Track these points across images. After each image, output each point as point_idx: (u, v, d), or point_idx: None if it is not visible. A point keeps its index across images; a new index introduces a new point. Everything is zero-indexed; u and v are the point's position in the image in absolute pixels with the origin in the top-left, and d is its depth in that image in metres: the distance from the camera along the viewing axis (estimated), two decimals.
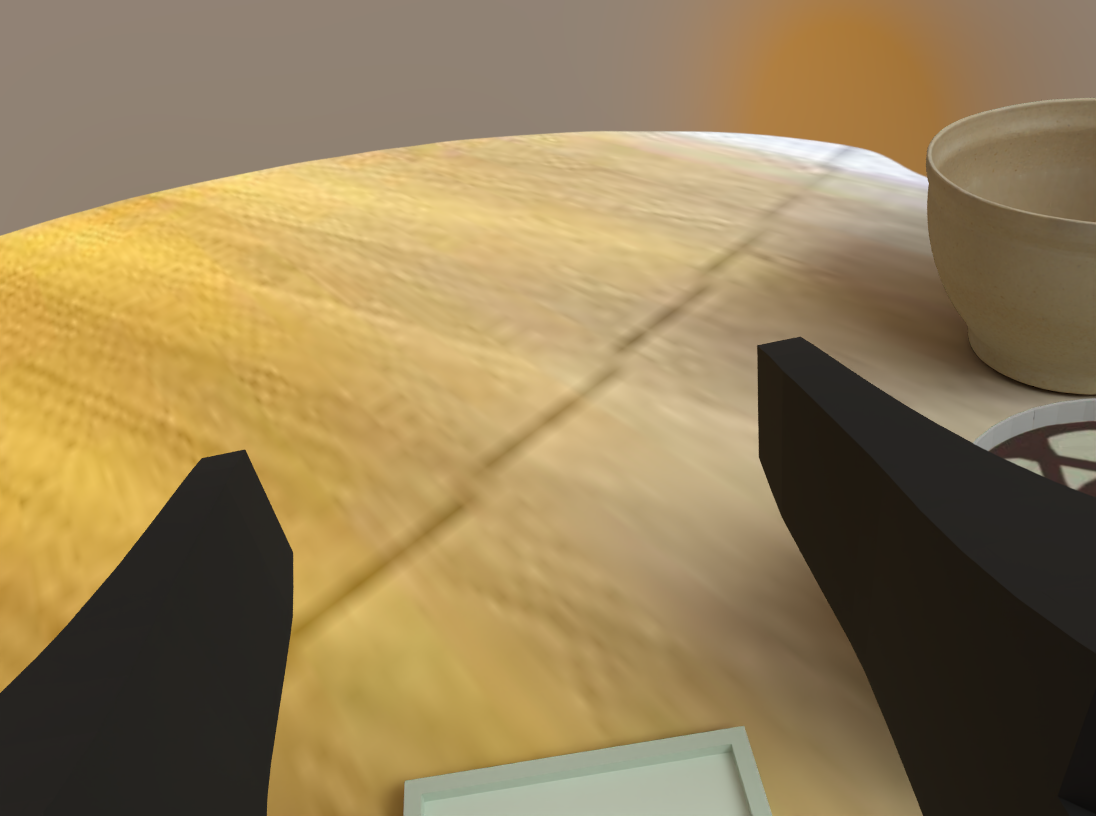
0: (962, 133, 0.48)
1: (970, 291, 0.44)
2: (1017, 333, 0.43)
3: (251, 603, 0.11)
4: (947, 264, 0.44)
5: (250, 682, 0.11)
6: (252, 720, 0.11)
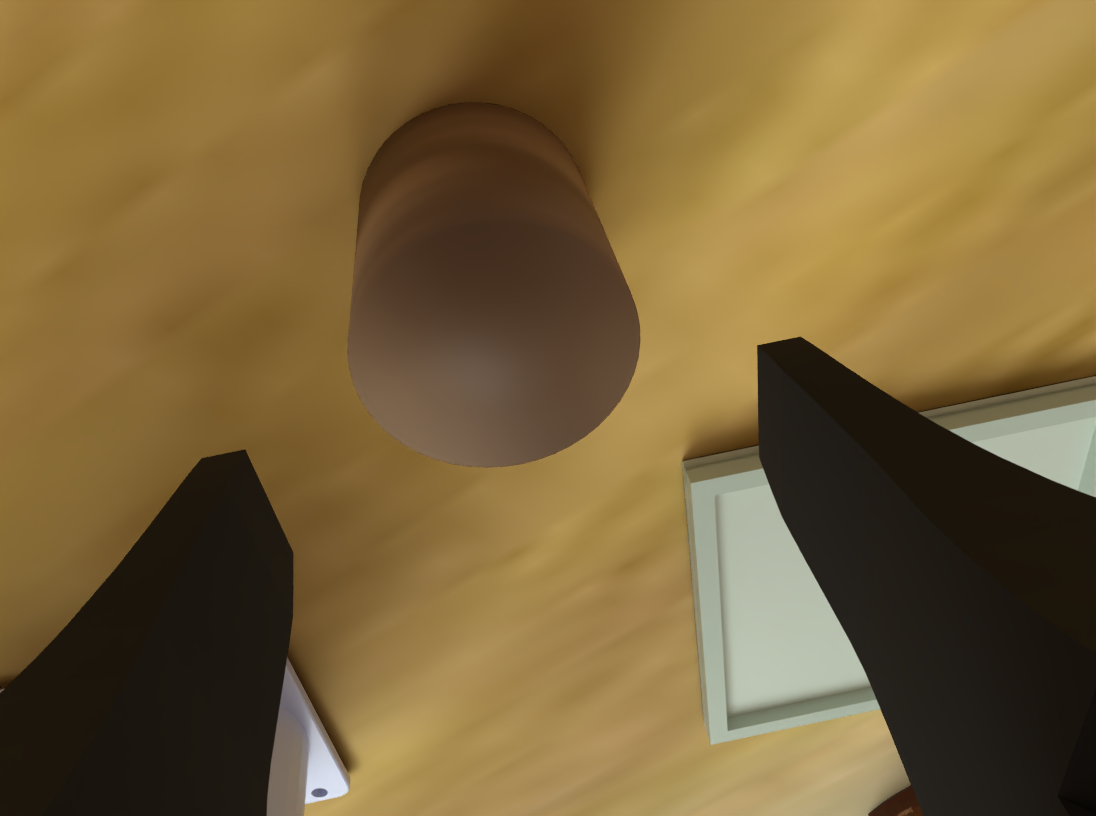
0: None
1: None
2: None
3: (251, 603, 0.11)
4: None
5: (250, 682, 0.11)
6: (252, 720, 0.11)
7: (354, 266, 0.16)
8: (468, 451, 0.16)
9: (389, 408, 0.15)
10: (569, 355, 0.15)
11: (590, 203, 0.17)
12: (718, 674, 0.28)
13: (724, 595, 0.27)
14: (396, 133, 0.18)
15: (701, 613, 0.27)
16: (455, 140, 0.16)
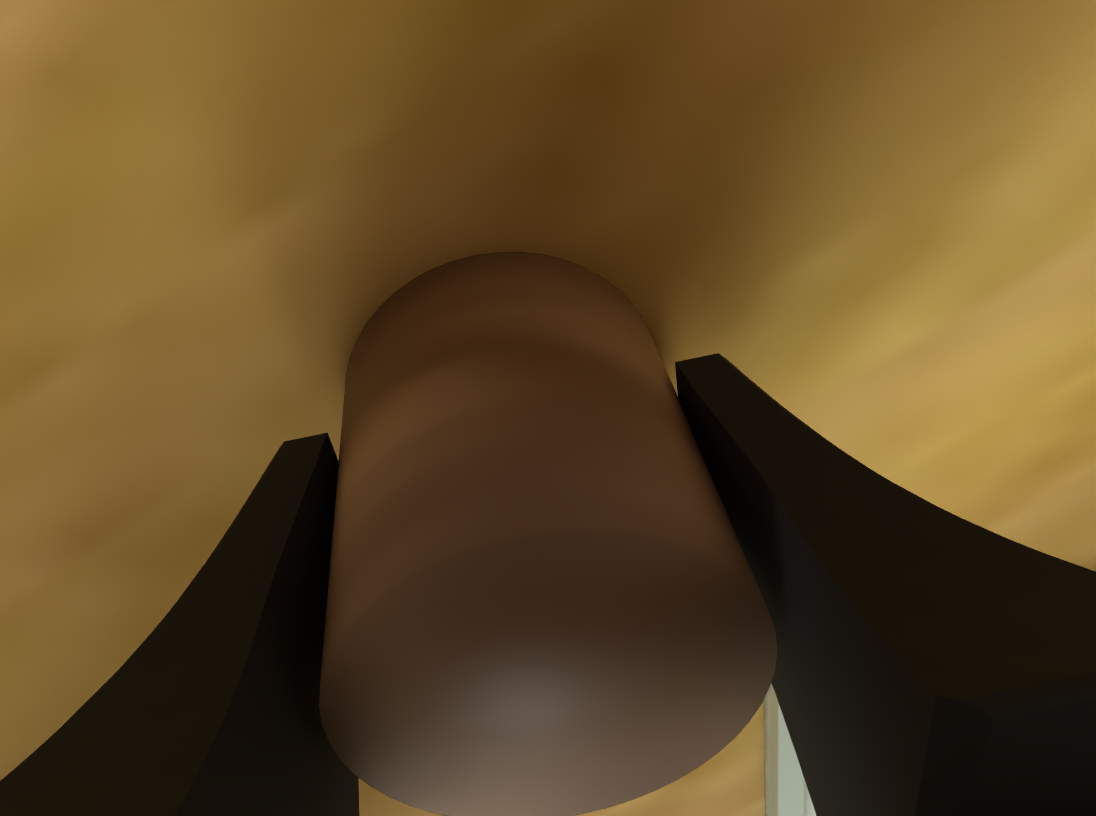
0: None
1: None
2: None
3: None
4: None
5: None
6: None
7: (334, 524, 0.11)
8: (505, 805, 0.11)
9: (386, 767, 0.10)
10: (664, 689, 0.10)
11: (684, 420, 0.11)
12: None
13: (806, 803, 0.22)
14: (397, 297, 0.12)
15: None
16: (485, 332, 0.11)
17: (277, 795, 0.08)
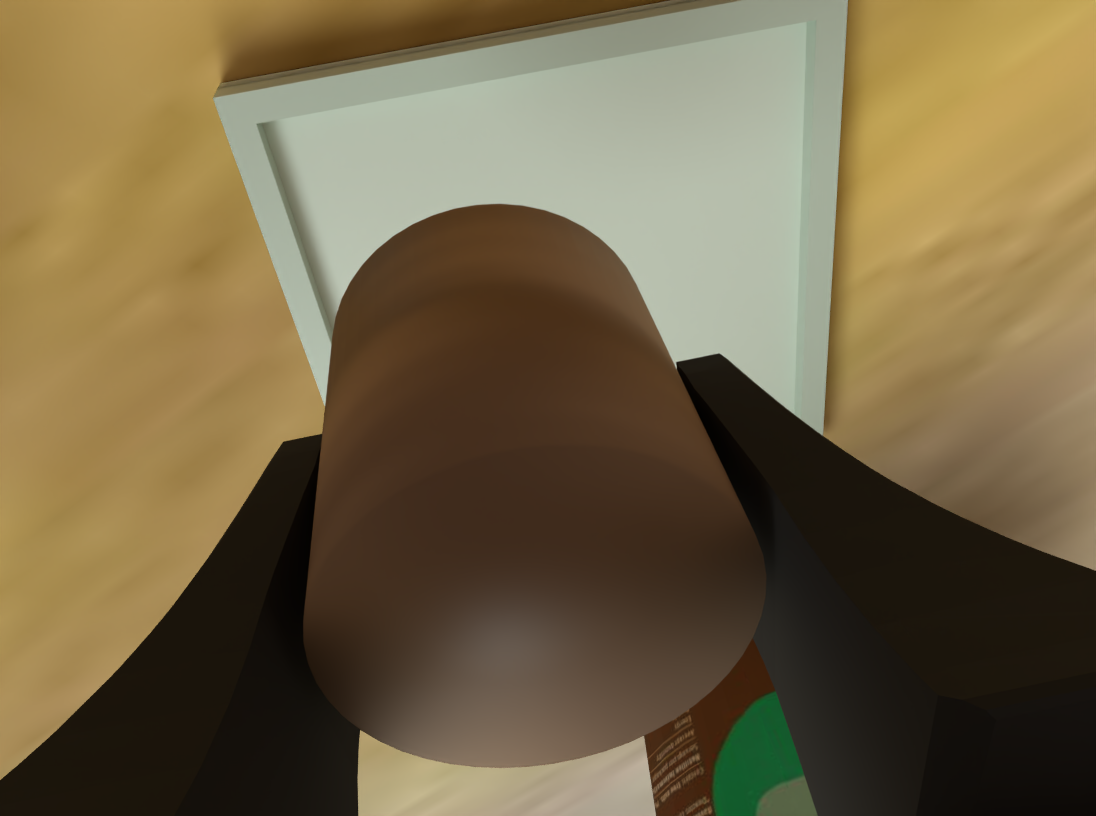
0: None
1: None
2: None
3: None
4: None
5: None
6: None
7: None
8: (521, 749, 0.11)
9: (390, 720, 0.10)
10: (655, 611, 0.09)
11: (654, 342, 0.11)
12: None
13: None
14: (364, 267, 0.13)
15: (300, 334, 0.20)
16: (440, 282, 0.11)
17: (276, 795, 0.08)
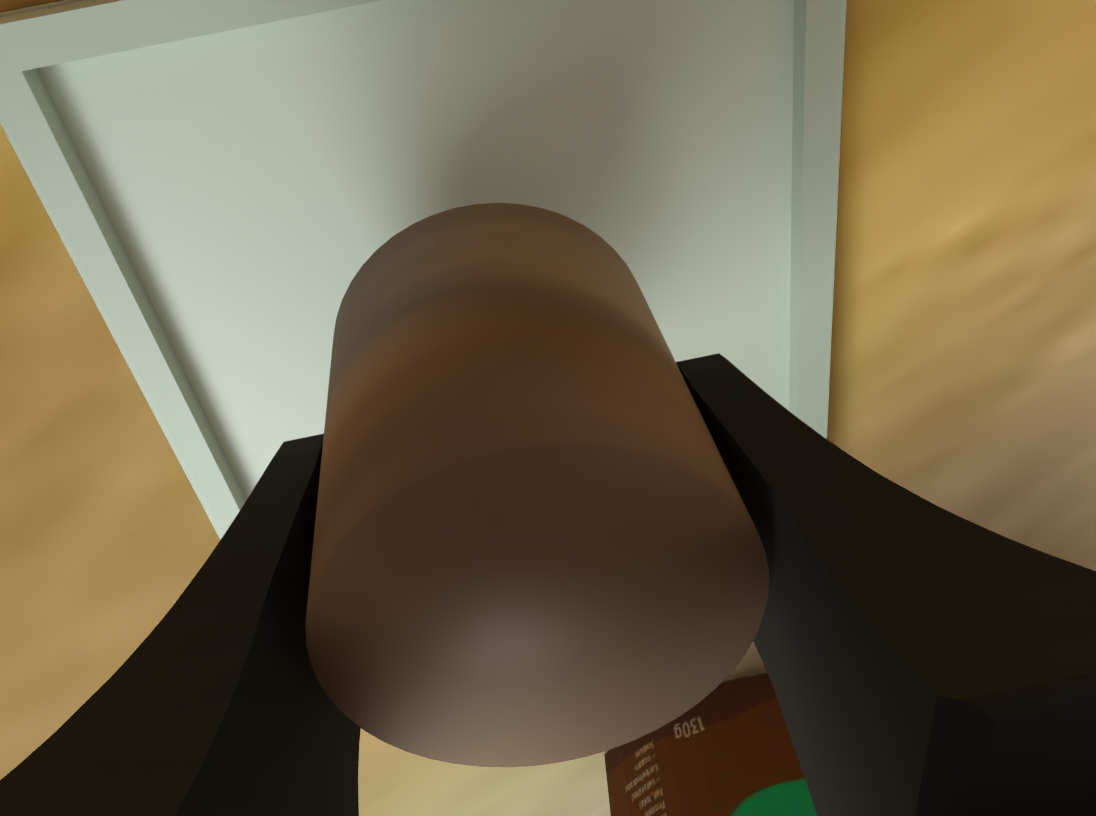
0: None
1: None
2: None
3: None
4: None
5: None
6: None
7: None
8: (526, 748, 0.11)
9: (394, 720, 0.10)
10: (657, 609, 0.09)
11: (655, 340, 0.11)
12: (218, 490, 0.17)
13: (183, 333, 0.15)
14: (364, 267, 0.13)
15: (127, 359, 0.15)
16: (439, 282, 0.11)
17: (276, 795, 0.08)
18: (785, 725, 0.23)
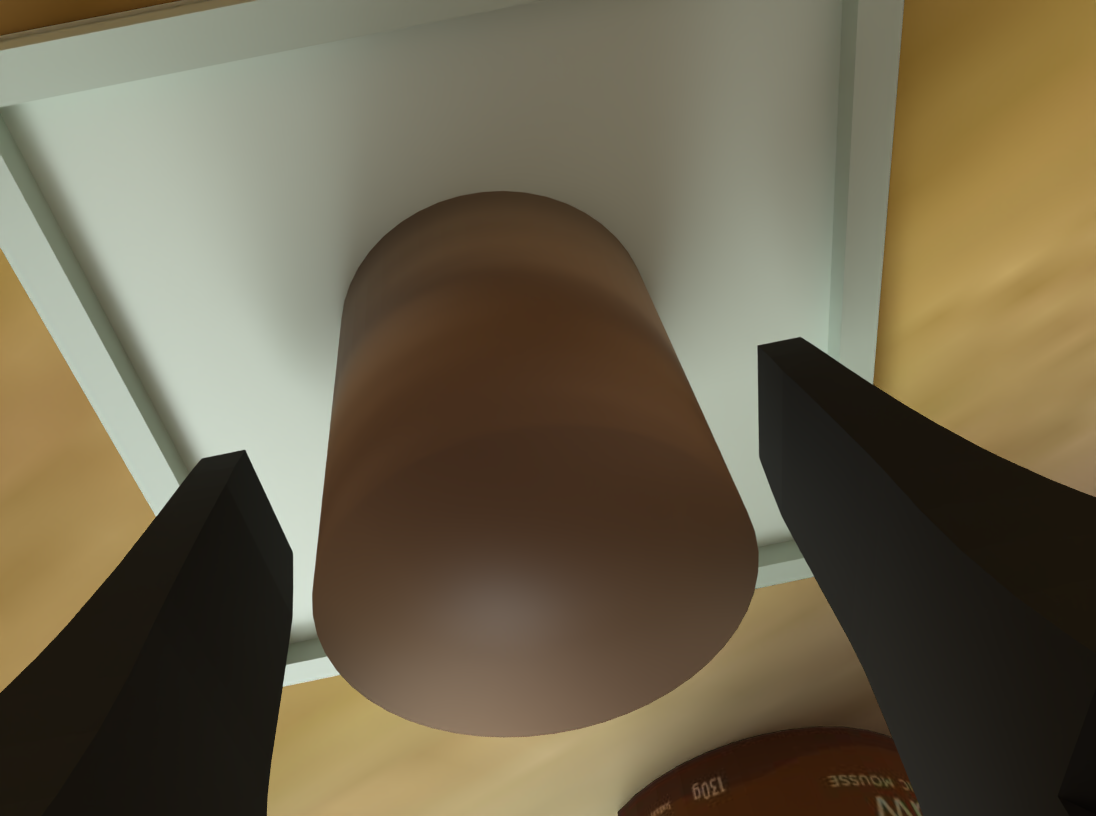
0: None
1: None
2: None
3: (251, 603, 0.11)
4: None
5: (250, 682, 0.11)
6: (252, 720, 0.11)
7: None
8: (523, 719, 0.11)
9: (397, 690, 0.10)
10: (651, 585, 0.10)
11: (653, 326, 0.11)
12: None
13: (165, 390, 0.14)
14: (371, 253, 0.13)
15: (102, 420, 0.14)
16: (444, 268, 0.11)
17: None
18: (811, 788, 0.21)
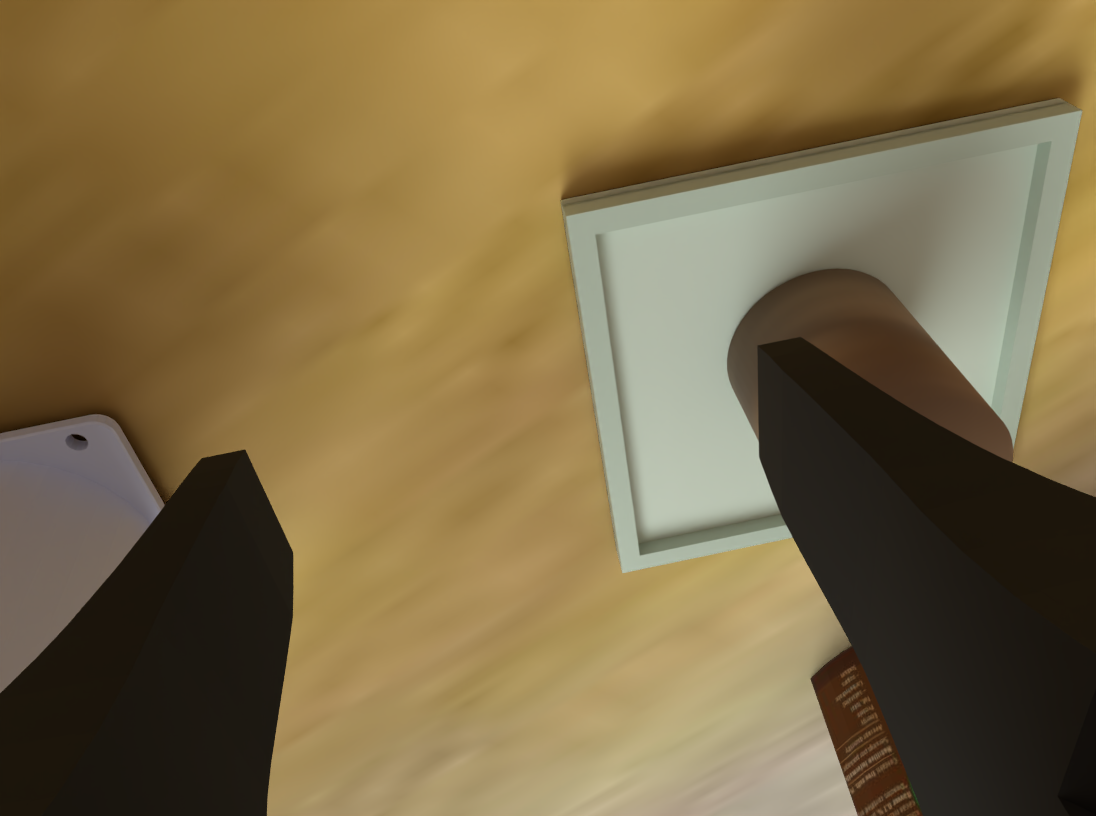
0: None
1: None
2: None
3: (251, 603, 0.11)
4: None
5: (250, 682, 0.11)
6: (252, 720, 0.11)
7: None
8: None
9: None
10: None
11: None
12: (622, 480, 0.25)
13: (623, 380, 0.24)
14: (760, 304, 0.23)
15: (595, 397, 0.24)
16: (830, 317, 0.21)
17: None
18: None
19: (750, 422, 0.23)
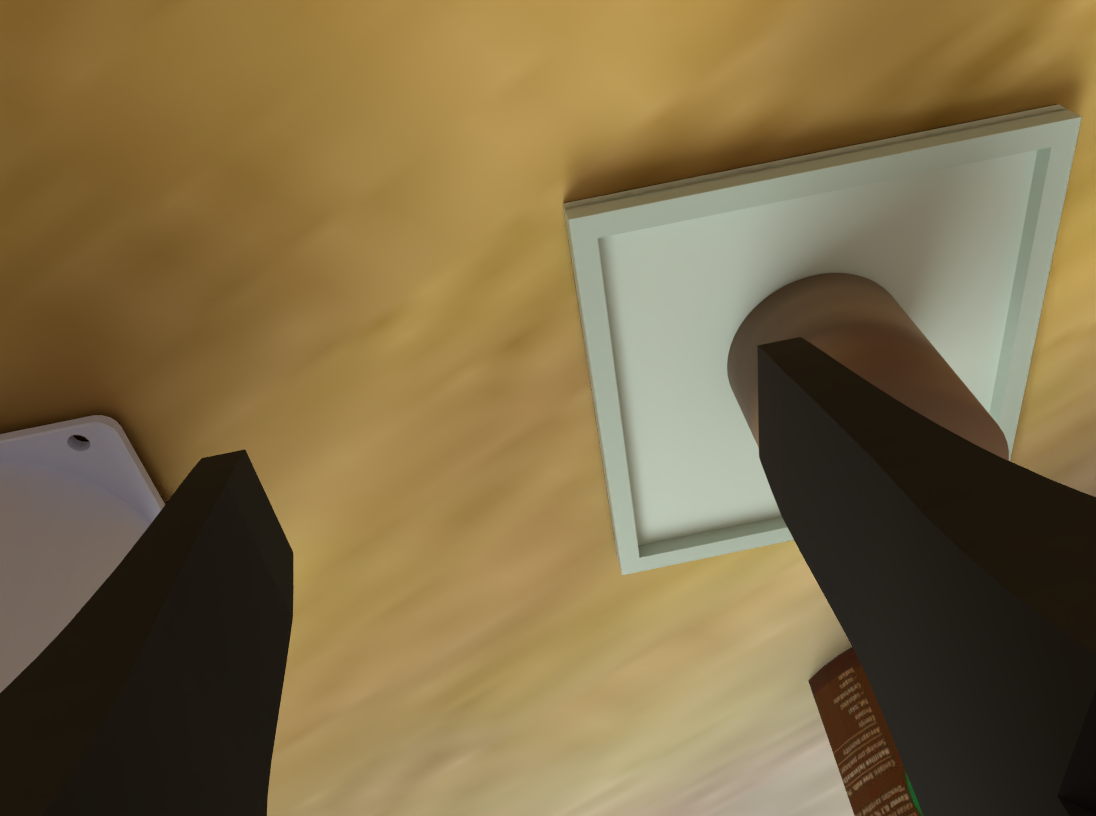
0: None
1: None
2: None
3: (251, 603, 0.11)
4: None
5: (250, 682, 0.11)
6: (252, 720, 0.11)
7: None
8: None
9: None
10: None
11: (935, 349, 0.21)
12: (622, 482, 0.26)
13: (624, 382, 0.24)
14: (758, 309, 0.23)
15: (596, 399, 0.24)
16: (825, 321, 0.21)
17: None
18: None
19: (749, 426, 0.23)
